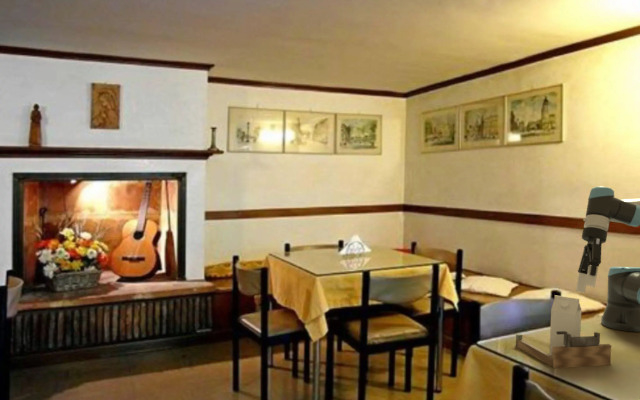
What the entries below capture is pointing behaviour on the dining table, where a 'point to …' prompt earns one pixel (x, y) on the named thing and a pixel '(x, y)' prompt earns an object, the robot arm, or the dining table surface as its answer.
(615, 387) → the dining table surface
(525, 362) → the dining table surface
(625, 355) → the dining table surface
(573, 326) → the milk carton
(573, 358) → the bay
